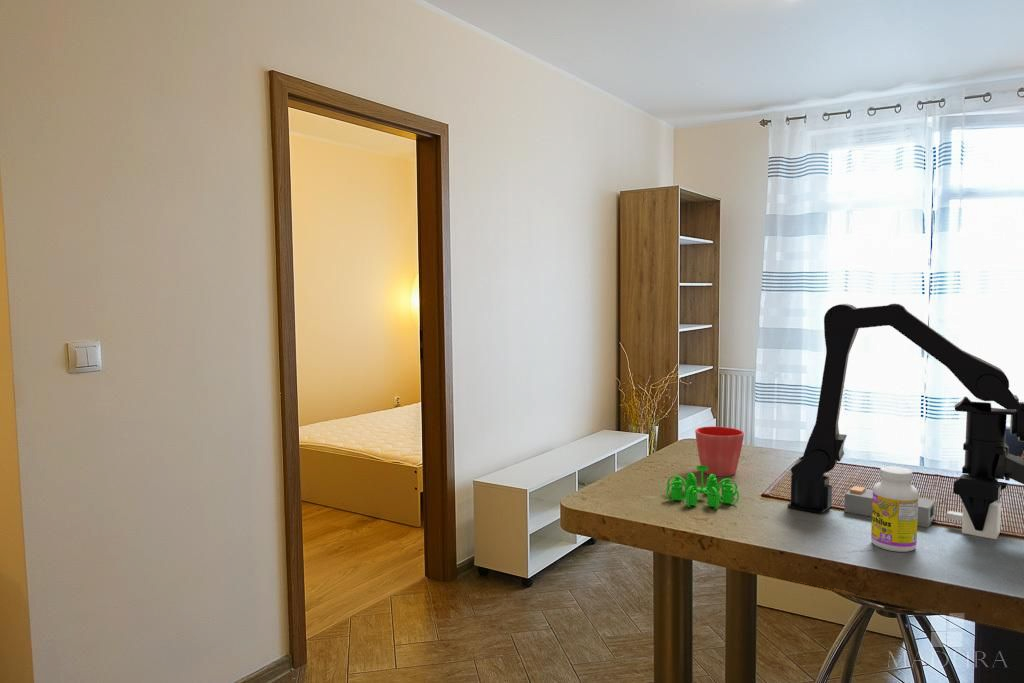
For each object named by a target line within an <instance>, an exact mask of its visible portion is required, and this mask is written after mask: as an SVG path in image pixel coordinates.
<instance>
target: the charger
mask: <svg viewBox="0 0 1024 683" xmlns="http://www.w3.org/2000/svg"><path fill="white" fill-rule="evenodd" d="M1002 504H1003V503H1002V500H997V501H995V502H993V503H991V504H990V507H989V510H988V514H987V518H986V521H985V525H984V529H983V531H978V530H975V528H974V526H973V524H972V521H971V519H970V517H969V515H968V512H967V510H966V508H965V506H964V504H963V503H962V512H960V511H959V512H958V511H952V510H948V511H947V512H946V520H953V521H957V522H961V534H966V535H972V536H977V537H981V538H988V539H993V540H997V539H998V538H999V535H1000V532H1001V521H1002V520H1001V518H1002Z"/></svg>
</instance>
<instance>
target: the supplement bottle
mask: <svg viewBox="0 0 1024 683" xmlns="http://www.w3.org/2000/svg"><path fill="white" fill-rule="evenodd" d="M879 470H880V471H879V476H880V480H881V481H878V482H877V483H875V484H874V485H873V487H872V490H873V504H872V517H871V529H870V530H871V532H870V533H871V534H870V536H871V537H870V540H871V542H872V544H873V545H875V547H878V548H880V549H883V550H886V551H890V552H895V553H896V552H898V553H907V552H911V551H913V550H915V549H916V548H917V541H918V526H917V520H918V498H920V496H919V491H918V489H917V488H916V487H915V486H914V485H912V480H913V474H914V473H913V470H911V469H909V468H906V467H899V466H882V467H880V469H879Z"/></svg>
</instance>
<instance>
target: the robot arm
mask: <svg viewBox="0 0 1024 683" xmlns="http://www.w3.org/2000/svg"><path fill="white" fill-rule="evenodd" d="M823 326H824V327H823V328H824V329H823V330H824V332H823V333H824V341H825V359H824V366H823V367H824V368H823V372H822V380H821V385H820V393H819V400H818V406H817V410H816V412H817V413H816V419H815V424H814V426H813V428H812V431H811V433H810V436H809V438H808V441H807V444H806V446H805V449H804V452H803V455H802V456H801V457H800V458H798V460H796V462H795V463H794V465H793V466H792V467H791V468H790V472H791V475H790V476H791V477H790V480H791V481H790V502H788V504H787V505H786V506H787V508H791V509H795V510H800V511H807V512H811V513H814V514H815V513H816V514H823V513H824V512H826V511H827V510H828V509H830V508H831V507H832V502H833V485H831V484H830V476H827V475H825V474H826V473H829V472H830V471H832V470H833V469H834V468H835V466H836V464H837V463H839V462H841V461H842V459H843V457H844V455H845V452H844V451H845V450H844V446H845V441H846V439H847V436H848V435H847V434H843V433H842V434H841V433H840V429H839V421H840V412H841V406H842V400H843V396H844V395H843V394H844V387H845V380H846V374H847V368H848V363H849V362H848V361H849V356H850V353H851V352H850V351H851V350H852V347H853V345H854V342H855V340H856V337H857V334H858V332H859V329H865V328H866V329H867V328H875V327H876V328H877V327H883V326H885V327H886V326H889V327H892V328H893V329H894V330H896V331H897V332H899V333H900V334H901V335H903V336H904V337H905V338H906V339H908V340H910V342H912V343H914V344H915V345H916V346H918V347H919V348H921V349H922V350H923V351H924V352H926V353H927V354H928V355H930V356H932V357H933V358H934V359H935V360H937V361H938V362H939V363H941V364H942V365H944V366H945V367H946V368H947V369H948V370H949V371H950V372H951V373H952V374H953V376H955V377H956V379H957V380H958V381H959V382H960V383H961V384H962V385H963V386H964V387H965V388H966V389H967V390H968V391H969V392H970V393H971V394H972V395H973V396H974V397H975V398H976V399H979V400H980V401H972V400H971V399H969V397H968V396H964V397H963V398H962V400H960V401H959V402H958V403H955V405H954V411H956V412H963V413H965V412H966V424H965V427H966V428H965V442H964V443H963V444H962V446H963V447H962V450H963V451H964V465H963V466H962V468H961V470H962V471H961V473H962V475H960V476H959V477H957V478H956V480H955V481H953V494H954V495H957V496H959V498H960V500H961V502H962V505H963V504H964V506H965V508H966V510H967V512H968V515H969V517H970V519H971V521H972V524H973V526H974V528H975V530H978V531H983V529H984V525H985V521H986V518H987V514H988V510H989V507H990V504H991V503H993V502H995V501H997V500H998V501H1000V499H1001V497H1002V494H1001V493H1002V491H1003V490H1004V489H1006V488H1007V487H1008V482H1004V481H999V480H1005V481H1010V480H1013V481H1015V482H1017V483H1019V484H1022V485H1024V456H1022V457H1021V456H1020V455H1017V456H1016V455H1015V454H1011V453H1010V452H1009V449H1010V446H1009V445H1008V443H1006V439H1007V438H1006V437H1007V435H1006V433H1007V417H1008V416H1010V422H1009V425H1010V427H1009V432H1010V435H1013V436H1015V437H1016V438H1017V441H1018V442H1023V443H1024V401H1019V400H1020V399H1019V397H1018V396H1017V395H1015V394H1014V393H1013V392H1012V391H1011V390H1010V389H1009V388H1010V382H1009V381H1010V380H1009V378H1008V377H1007V375H1006V373H1005V372H1004V371H1003V370H1002V369H1001V368H1000V367H998V366H996V365H995V364H992V363H990V362H988V361H986V360H984V359H982V358H980V357H978V356H975V355H974V354H971V353H969V352H967V351H965V350H963V349H962V348H960V347H958V346H957V345H956V344H955V343H953V342H951V341H950V340H949V339H948V338H946V337H944V336H943V335H942V334H940V333H939V332H938V331H936V330H934V329H933V328H932V327H930V326H929V325H928V324H926V322H923V321H922V320H921V319H919V318H918V317H917V316H915V315H914V314H912V313H911V312H909V311H908V309H906V308H905V306H904V305H902V304H900V303H895V302H894V303H890V304H888V305H877V306H867V307H866V306H864V307H856V306H855V305H853V304H848V303H840V304H836V305H833V306H831V307H830V308H829V309H827V311H826V312H825V313H824V316H823ZM991 402H994V403H996V404H998V406H1001V407H1002V408H997V407H992V403H991Z"/></svg>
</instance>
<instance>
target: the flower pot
mask: <svg viewBox="0 0 1024 683" xmlns="http://www.w3.org/2000/svg"><path fill="white" fill-rule="evenodd" d="M694 432H695V433H694V434H695V439H696V446H697V448H696V449H697V453H698V459H699V463H700V464H699V465H700V466H707V467H708V470H707V471H703V474H706V473H707V475H710V474H715V475H719V476H718V477H728V476H733V475H736V473H737V469H738V465H739V460H740V456H741V451H742V447H743V444H744V443H743V441H744V437H745V433H744V431H743V430H740V429H737V428H733V427H726V426H701V427H697V428H696V429H695V431H694Z"/></svg>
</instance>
